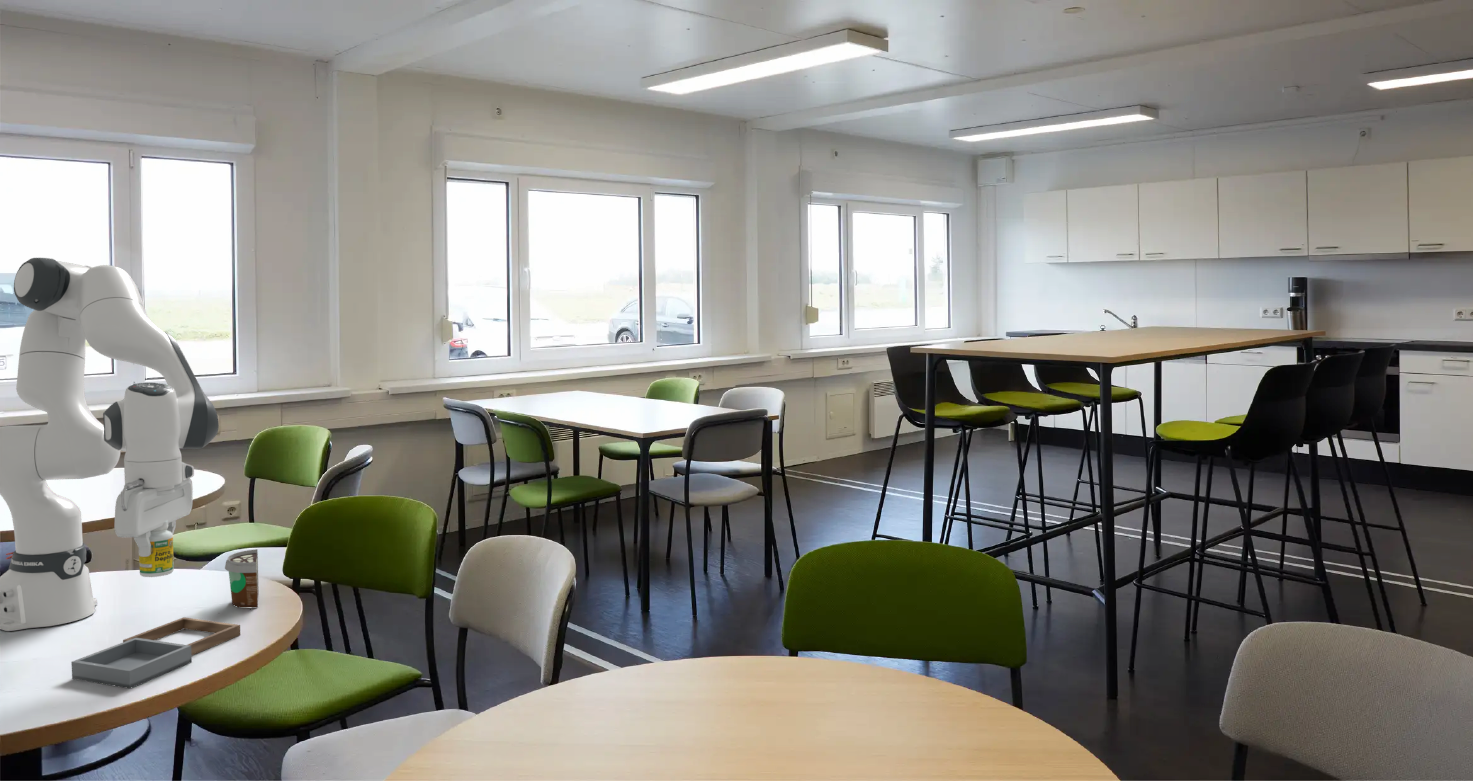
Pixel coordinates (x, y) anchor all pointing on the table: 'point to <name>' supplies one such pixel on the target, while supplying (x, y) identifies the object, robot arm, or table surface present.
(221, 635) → the wooden square frame
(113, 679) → the tray
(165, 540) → the supplement bottle
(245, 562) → the food container
